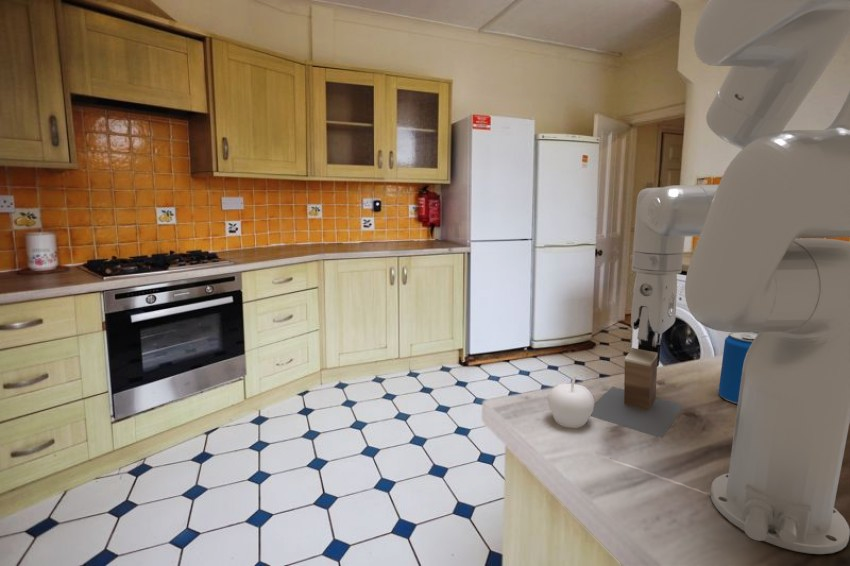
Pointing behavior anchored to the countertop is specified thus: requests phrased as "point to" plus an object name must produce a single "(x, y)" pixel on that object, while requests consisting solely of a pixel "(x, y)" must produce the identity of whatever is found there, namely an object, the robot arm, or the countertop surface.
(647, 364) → the block
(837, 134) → the robot arm
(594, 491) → the countertop surface
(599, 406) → the mat
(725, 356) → the beverage can
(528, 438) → the countertop surface
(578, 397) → the plain white apple
